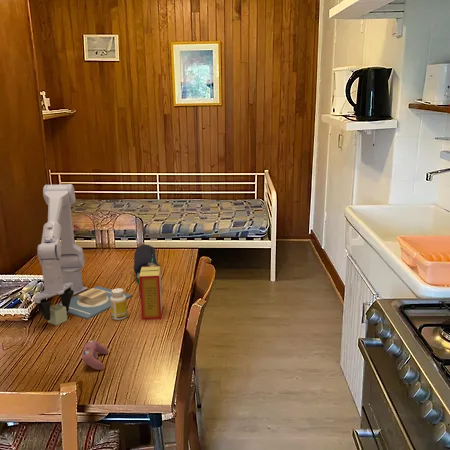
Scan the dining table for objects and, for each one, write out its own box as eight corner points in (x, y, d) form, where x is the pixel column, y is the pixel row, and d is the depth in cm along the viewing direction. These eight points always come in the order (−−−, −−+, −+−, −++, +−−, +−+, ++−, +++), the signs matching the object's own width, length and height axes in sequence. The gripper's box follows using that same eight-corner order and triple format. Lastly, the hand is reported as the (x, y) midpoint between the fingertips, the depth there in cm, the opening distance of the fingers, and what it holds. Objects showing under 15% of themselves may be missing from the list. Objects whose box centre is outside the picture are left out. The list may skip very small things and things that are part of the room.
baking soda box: (161, 318, 160) (159, 274, 156) (141, 319, 160) (139, 275, 156) (162, 306, 169) (160, 265, 165) (144, 307, 169) (141, 265, 165)
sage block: (47, 322, 159) (45, 307, 157) (58, 317, 162) (56, 302, 161) (56, 325, 156) (54, 310, 155) (67, 320, 160) (65, 305, 159)
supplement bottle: (130, 314, 164) (128, 288, 161) (122, 321, 159) (120, 294, 156) (116, 312, 165) (114, 286, 163) (108, 319, 160) (106, 292, 158)
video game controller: (96, 357, 140) (84, 339, 138) (110, 350, 139) (97, 332, 137) (90, 376, 130) (76, 357, 128) (104, 369, 130) (91, 349, 128)
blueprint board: (52, 308, 169) (51, 298, 168) (97, 287, 187) (96, 278, 187) (87, 319, 160) (86, 309, 159) (131, 296, 178) (131, 287, 177)
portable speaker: (159, 282, 192) (158, 259, 189) (134, 284, 190) (133, 261, 188) (157, 262, 216) (156, 241, 213) (135, 263, 214) (133, 242, 211)
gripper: (42, 286, 147) (46, 326, 151) (78, 272, 159) (81, 309, 163) (27, 282, 151) (32, 321, 154) (63, 268, 163) (67, 305, 166)
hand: (56, 314), depth 159 cm, fingers open, 7 cm apart
